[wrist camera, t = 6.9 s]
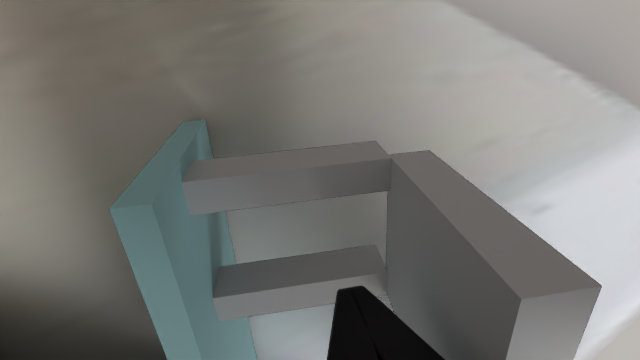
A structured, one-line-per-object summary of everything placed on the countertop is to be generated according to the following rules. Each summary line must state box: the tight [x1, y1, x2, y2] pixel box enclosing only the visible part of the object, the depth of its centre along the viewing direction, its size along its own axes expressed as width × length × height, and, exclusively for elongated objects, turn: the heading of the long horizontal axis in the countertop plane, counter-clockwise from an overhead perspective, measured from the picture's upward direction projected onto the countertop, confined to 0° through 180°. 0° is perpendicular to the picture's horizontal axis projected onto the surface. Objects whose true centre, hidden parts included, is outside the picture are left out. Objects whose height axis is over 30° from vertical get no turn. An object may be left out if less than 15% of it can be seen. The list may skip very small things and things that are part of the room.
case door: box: [109, 120, 602, 360], centre depth 11 cm, size 8×14×10 cm, turn 3°
